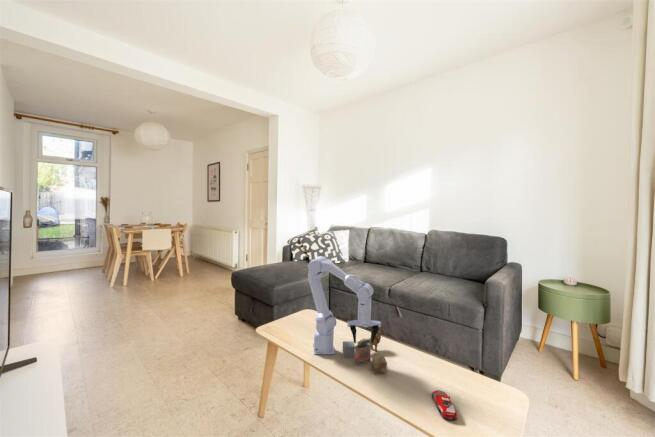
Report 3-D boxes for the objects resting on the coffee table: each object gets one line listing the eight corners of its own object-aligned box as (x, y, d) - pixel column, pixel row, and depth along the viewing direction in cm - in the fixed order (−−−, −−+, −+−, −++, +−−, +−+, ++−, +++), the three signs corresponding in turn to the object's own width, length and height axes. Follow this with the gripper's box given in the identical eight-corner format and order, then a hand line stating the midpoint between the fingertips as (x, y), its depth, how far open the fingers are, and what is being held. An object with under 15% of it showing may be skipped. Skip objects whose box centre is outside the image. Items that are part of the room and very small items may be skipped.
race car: (430, 394, 107) (430, 384, 107) (445, 395, 107) (445, 385, 106) (441, 421, 94) (442, 409, 94) (458, 422, 94) (459, 411, 93)
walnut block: (374, 374, 118) (375, 362, 118) (372, 367, 123) (372, 356, 123) (386, 374, 118) (387, 362, 118) (383, 367, 123) (384, 356, 123)
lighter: (356, 366, 124) (357, 343, 123) (352, 362, 127) (353, 340, 126) (372, 361, 127) (373, 340, 127) (367, 358, 130) (368, 336, 130)
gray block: (343, 357, 131) (343, 346, 130) (342, 351, 136) (342, 341, 135) (354, 357, 131) (354, 346, 130) (352, 351, 136) (353, 341, 135)
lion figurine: (374, 344, 143) (375, 327, 142) (383, 349, 139) (384, 331, 138) (353, 353, 134) (354, 335, 133) (362, 358, 130) (362, 339, 129)
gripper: (349, 315, 121) (348, 346, 122) (383, 315, 122) (381, 346, 123) (347, 309, 128) (346, 338, 129) (379, 309, 129) (378, 338, 130)
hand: (363, 342), depth 126 cm, fingers open, 7 cm apart
